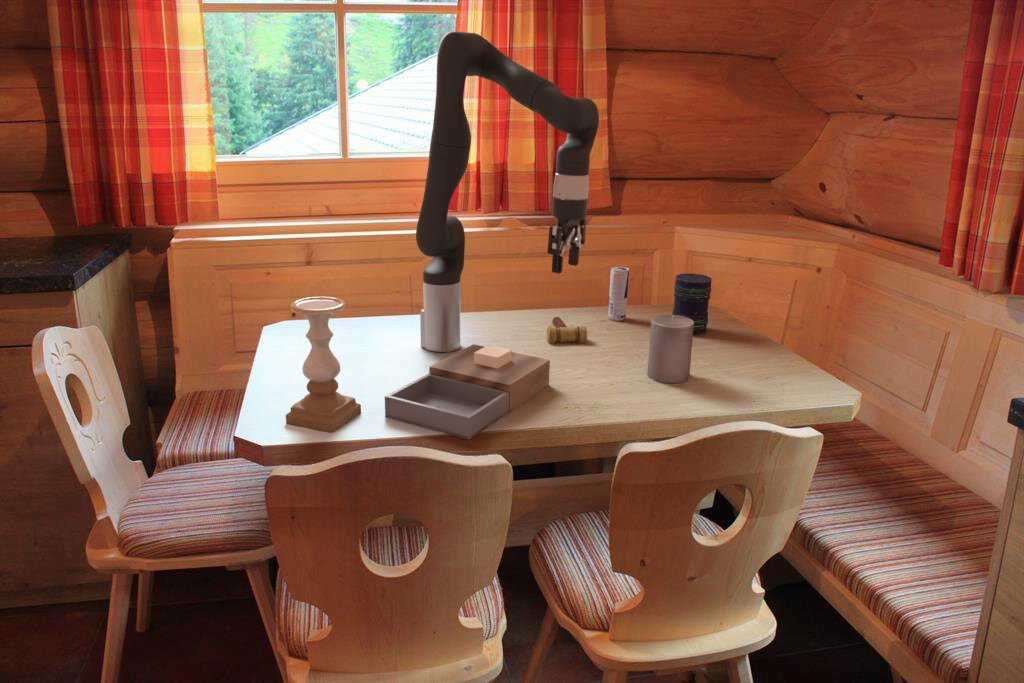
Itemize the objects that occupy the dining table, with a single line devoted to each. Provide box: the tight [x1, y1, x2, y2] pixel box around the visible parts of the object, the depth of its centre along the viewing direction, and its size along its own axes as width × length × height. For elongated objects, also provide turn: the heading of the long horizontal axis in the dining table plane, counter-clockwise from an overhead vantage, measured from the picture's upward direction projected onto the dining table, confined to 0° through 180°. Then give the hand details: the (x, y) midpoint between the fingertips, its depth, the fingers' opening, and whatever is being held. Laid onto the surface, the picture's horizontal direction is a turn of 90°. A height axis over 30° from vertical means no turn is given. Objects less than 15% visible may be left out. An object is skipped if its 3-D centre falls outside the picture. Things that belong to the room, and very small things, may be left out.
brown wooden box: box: [428, 343, 551, 413], centre depth 176 cm, size 20×18×6 cm
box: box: [384, 373, 510, 441], centre depth 162 cm, size 20×15×4 cm
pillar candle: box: [646, 314, 694, 384], centre depth 184 cm, size 10×10×15 cm
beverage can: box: [607, 266, 630, 322], centre depth 228 cm, size 5×5×15 cm
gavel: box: [546, 316, 588, 344], centre depth 217 cm, size 21×5×10 cm
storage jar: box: [671, 273, 713, 337], centre depth 219 cm, size 10×10×15 cm
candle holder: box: [285, 296, 362, 433], centre depth 157 cm, size 11×11×24 cm
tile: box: [474, 345, 513, 368], centre depth 176 cm, size 6×6×2 cm
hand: (565, 268), depth 176 cm, fingers open, 8 cm apart
